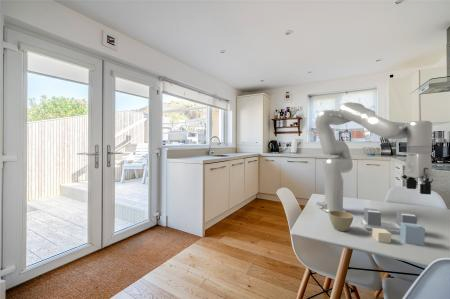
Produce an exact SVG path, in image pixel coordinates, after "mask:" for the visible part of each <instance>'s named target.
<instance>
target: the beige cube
mask: <svg viewBox="0 0 450 299" xmlns="http://www.w3.org/2000/svg"><path fill="white" fill-rule="evenodd" d="M371 235H372V238H373V239H374V240H376V242H378V243H386V244H387V243H388V244H391V243H392V242H391V241H392V233H390V232H388V231H387V230H385V229H379V228H373V231H372V234H371Z"/></svg>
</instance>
